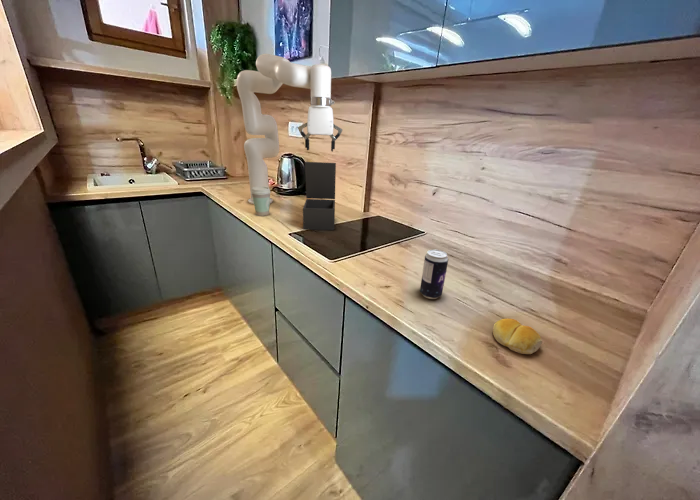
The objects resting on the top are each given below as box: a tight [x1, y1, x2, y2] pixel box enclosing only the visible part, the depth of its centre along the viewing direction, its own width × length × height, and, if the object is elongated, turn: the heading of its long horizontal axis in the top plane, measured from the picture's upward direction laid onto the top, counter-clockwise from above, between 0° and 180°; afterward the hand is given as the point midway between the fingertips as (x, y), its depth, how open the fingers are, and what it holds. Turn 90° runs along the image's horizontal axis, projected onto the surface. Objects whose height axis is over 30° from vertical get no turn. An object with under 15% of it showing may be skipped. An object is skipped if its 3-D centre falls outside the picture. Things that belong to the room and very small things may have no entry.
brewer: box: [302, 198, 336, 231], centre depth 129 cm, size 16×13×9 cm
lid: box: [304, 161, 337, 200], centre depth 129 cm, size 16×13×1 cm
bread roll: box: [492, 317, 543, 355], centre depth 63 cm, size 8×9×4 cm
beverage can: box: [419, 249, 449, 300], centre depth 77 cm, size 6×6×12 cm
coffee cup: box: [251, 186, 271, 217], centre depth 138 cm, size 8×8×12 cm
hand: (320, 150), depth 121 cm, fingers open, 9 cm apart
